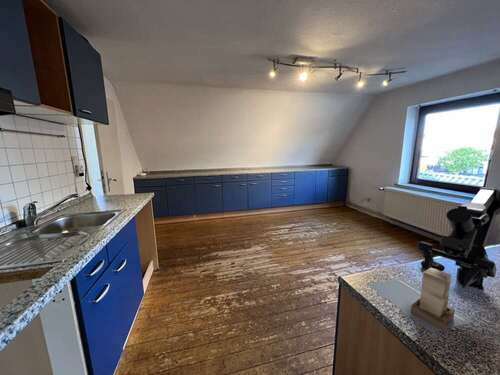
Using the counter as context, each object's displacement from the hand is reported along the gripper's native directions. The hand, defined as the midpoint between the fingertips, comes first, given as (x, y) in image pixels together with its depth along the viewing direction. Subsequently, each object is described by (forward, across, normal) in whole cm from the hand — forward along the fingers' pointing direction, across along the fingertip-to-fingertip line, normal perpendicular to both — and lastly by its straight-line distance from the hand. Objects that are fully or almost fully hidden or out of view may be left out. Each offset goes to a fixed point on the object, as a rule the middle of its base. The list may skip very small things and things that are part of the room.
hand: (443, 280), depth 70 cm
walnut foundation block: (+11, 0, +2) cm, 11 cm away
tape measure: (-12, -12, +28) cm, 33 cm away
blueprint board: (+9, -6, +6) cm, 13 cm away
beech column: (+10, 0, +1) cm, 10 cm away
